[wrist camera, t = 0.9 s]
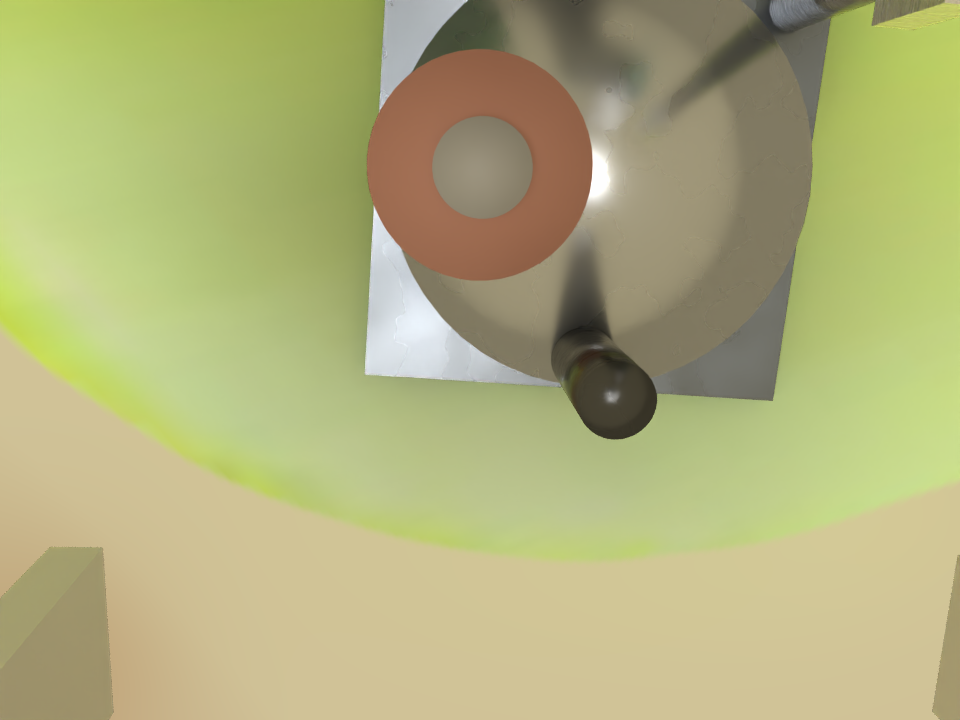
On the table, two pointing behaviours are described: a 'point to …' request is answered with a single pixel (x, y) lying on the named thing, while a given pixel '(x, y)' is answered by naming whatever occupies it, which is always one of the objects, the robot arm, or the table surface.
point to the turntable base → (719, 373)
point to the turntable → (643, 195)
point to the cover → (479, 164)
